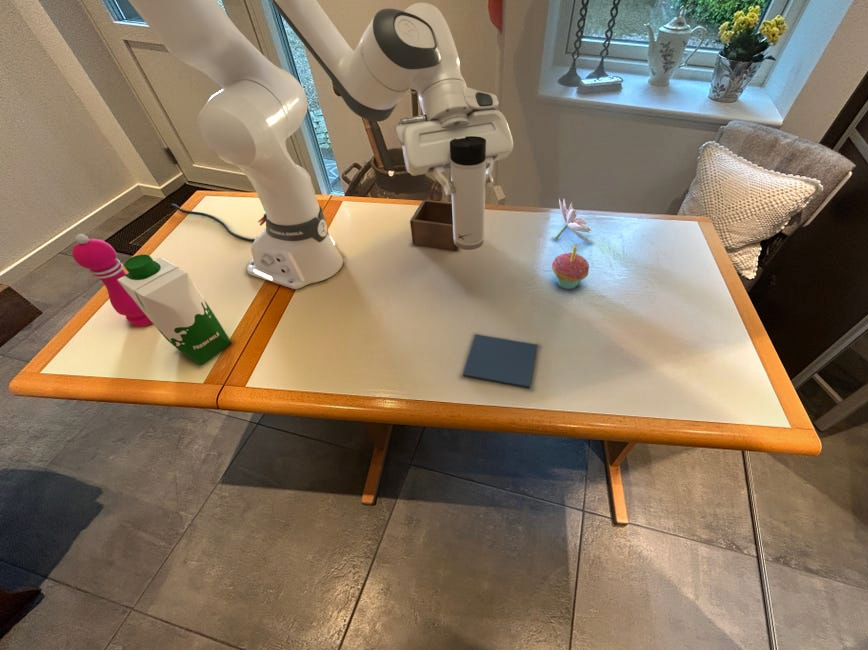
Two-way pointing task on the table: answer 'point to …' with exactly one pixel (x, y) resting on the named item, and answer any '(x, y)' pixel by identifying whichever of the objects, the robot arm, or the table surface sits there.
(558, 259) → the cupcake
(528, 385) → the mat
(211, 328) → the milk carton
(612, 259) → the table surface
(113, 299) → the pepper mill
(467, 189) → the travel mug
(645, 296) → the table surface
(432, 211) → the cubby
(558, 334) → the table surface
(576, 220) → the water lily
